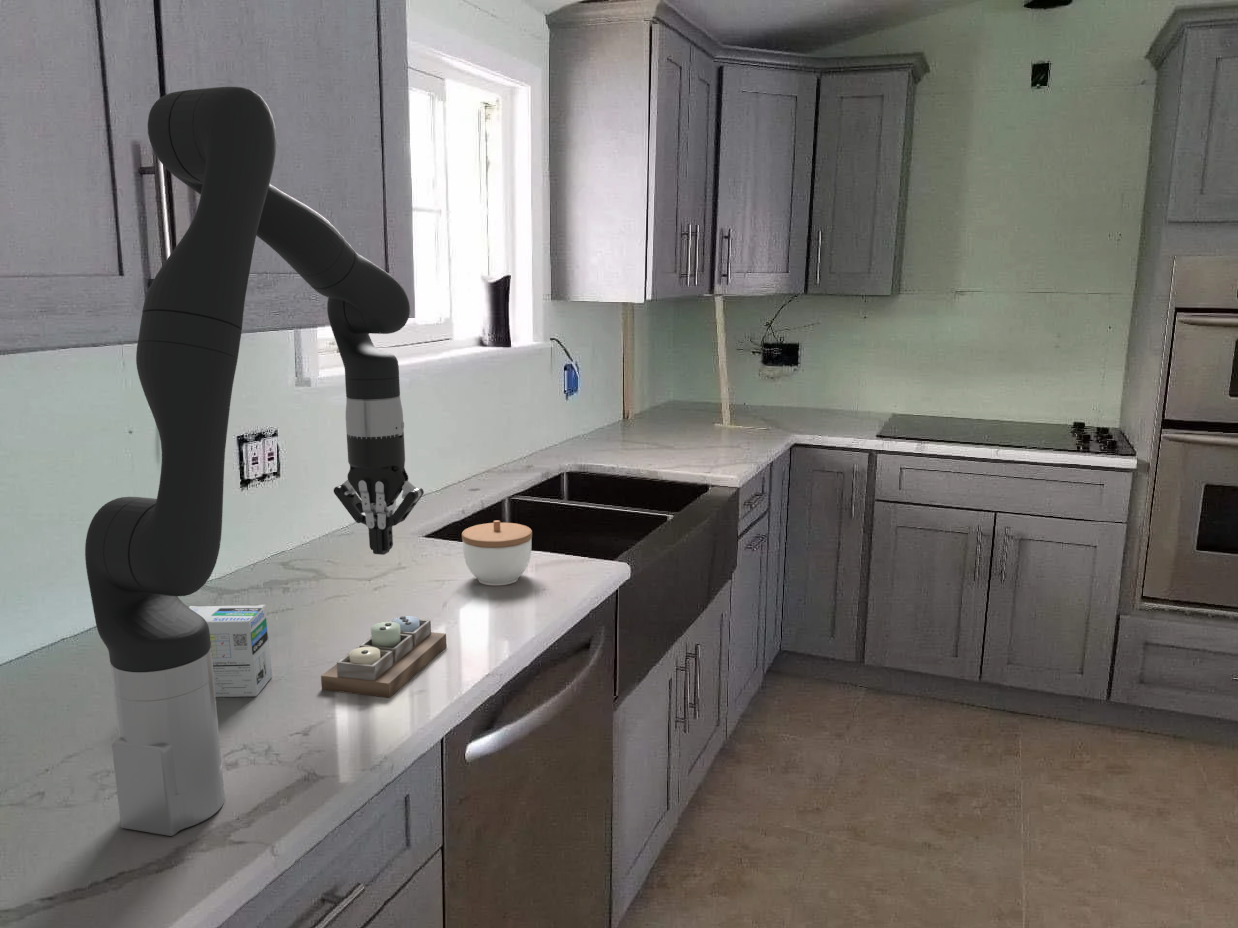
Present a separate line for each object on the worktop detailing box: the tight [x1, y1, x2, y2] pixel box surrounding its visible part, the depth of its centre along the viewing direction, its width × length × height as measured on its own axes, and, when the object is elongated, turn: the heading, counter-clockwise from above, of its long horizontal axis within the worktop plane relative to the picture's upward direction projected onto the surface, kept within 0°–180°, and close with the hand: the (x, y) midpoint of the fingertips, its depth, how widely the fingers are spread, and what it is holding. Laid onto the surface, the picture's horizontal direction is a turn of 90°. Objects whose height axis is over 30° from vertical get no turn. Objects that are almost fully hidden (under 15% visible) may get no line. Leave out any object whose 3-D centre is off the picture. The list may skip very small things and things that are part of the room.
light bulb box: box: [189, 604, 273, 698], centre depth 127 cm, size 11×7×11 cm, turn 92°
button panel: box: [320, 616, 447, 699], centre depth 135 cm, size 18×10×4 cm, turn 166°
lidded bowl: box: [461, 519, 533, 587], centre depth 172 cm, size 13×13×11 cm
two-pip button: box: [370, 621, 401, 648], centre depth 134 cm, size 4×4×3 cm
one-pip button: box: [349, 647, 380, 665], centre depth 129 cm, size 4×4×3 cm
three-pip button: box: [391, 615, 420, 632], centre depth 140 cm, size 4×4×3 cm
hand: (381, 552), depth 132 cm, fingers closed
